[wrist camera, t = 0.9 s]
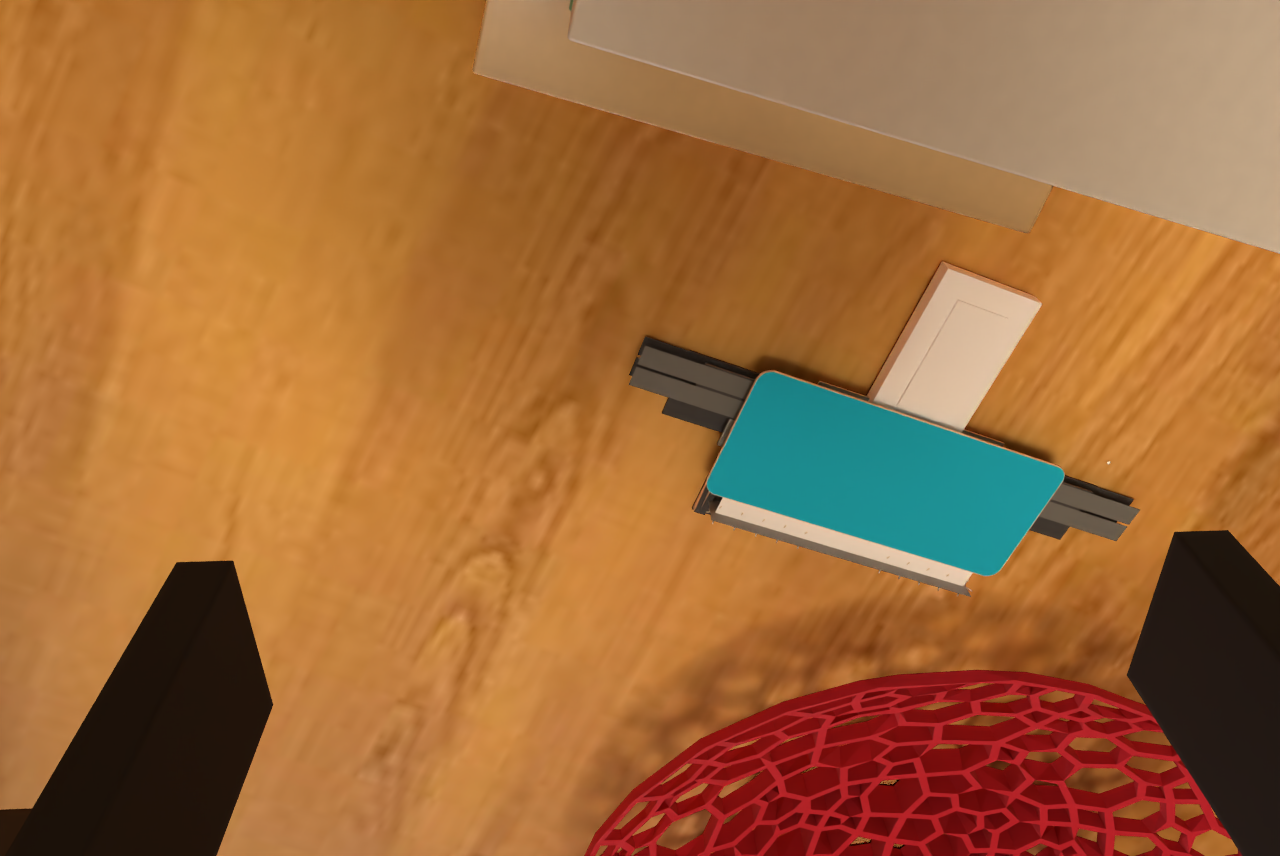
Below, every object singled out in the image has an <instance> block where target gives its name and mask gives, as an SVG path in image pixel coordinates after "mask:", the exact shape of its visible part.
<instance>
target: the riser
mask: <svg viewBox="0 0 1280 856" xmlns="http://www.w3.org/2000/svg"><path fill="white" fill-rule="evenodd" d="M569 4H570V0H486V3H485V8H484V14H483V19H482V24H481V29H480V34H479V39H478V44H477V49H476V54H475V59H474V64H473V69H472V70H473V73H475V74H477V75H481V76H484V77H488V78H491V79H495V80H498V81H502V82H505V83H508V84H512V85H515V86H519V87H522V88H526V89H529V90H533V91H536V92H540V93H543V94H546V95H550V96H553V97H557V98H560V99H564V100H567V101H571V102H574V103H578V104H581V105H585V106H588V107H591V108H595V109H598V110H602V111H605V112H609V113H612V114H616V115H619V116H623V117H626V118H629V119H633V120H636V121H640V122H643V123H647V124H650V125H654V126H657V127H661V128H664V129H667V130H671V131H674V132H678V133H681V134H685V135H688V136H692V137H695V138H699V139H702V140H706V141H709V142H712V143H716V144H719V145H723V146H726V147H730V148H733V149H737V150H740V151H744V152H747V153H750V154H754V155H757V156H761V157H764V158H768V159H771V160H775V161H778V162H782V163H785V164H788V165H792V166H795V167H799V168H802V169H806V170H809V171H813V172H816V173H820V174H823V175H827V176H830V177H833V178H837V179H840V180H844V181H847V182H851V183H854V184H858V185H861V186H865V187H868V188H871V189H875V190H878V191H882V192H885V193H889V194H892V195H896V196H899V197H903V198H906V199H909V200H913V201H916V202H920V203H923V204H927V205H930V206H934V207H937V208H941V209H944V210H948V211H951V212H954V213H958V214H961V215H965V216H968V217H972V218H975V219H979V220H982V221H986V222H989V223H992V224H996V225H999V226H1003V227H1006V228H1010V229H1013V230H1017V231H1020V232H1024V233H1030V231H1031V229H1032V227H1033V225H1034V223H1035V221H1036V219H1037V217H1038V215H1039V213H1040V211H1041V210H1042V208H1043V206H1044V204H1045V202H1046V200H1047V198H1048V196H1049V194H1050V192H1051V190H1052V188H1053V185H1049V184H1046V183H1043V182H1039V181H1036V180H1033V179H1029V178H1026V177H1023V176H1019V175H1016V174H1013V173H1009V172H1006V171H1003V170H999V169H996V168H993V167H989V166H986V165H983V164H979V163H976V162H973V161H969V160H966V159H963V158H959V157H956V156H953V155H949V154H946V153H943V152H939V151H936V150H933V149H929V148H926V147H923V146H919V145H916V144H913V143H909V142H906V141H903V140H899V139H896V138H893V137H889V136H886V135H883V134H879V133H876V132H873V131H869V130H866V129H863V128H859V127H856V126H853V125H849V124H846V123H843V122H839V121H836V120H833V119H829V118H826V117H823V116H819V115H816V114H813V113H809V112H806V111H803V110H799V109H796V108H793V107H790V106H786V105H783V104H780V103H776V102H773V101H770V100H766V99H763V98H760V97H756V96H753V95H750V94H746V93H743V92H740V91H736V90H733V89H730V88H726V87H723V86H720V85H716V84H713V83H710V82H706V81H703V80H700V79H696V78H693V77H690V76H686V75H683V74H680V73H676V72H673V71H670V70H666V69H663V68H660V67H656V66H653V65H650V64H646V63H643V62H640V61H636V60H633V59H630V58H626V57H623V56H620V55H616V54H613V53H610V52H606V51H603V50H600V49H596V48H593V47H590V46H586V45H583V44H580V43H576V42H573V41H570V40H569V39H568V30H569V23H570V17H571V11H570V10H569Z"/></svg>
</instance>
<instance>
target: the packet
mask: <svg viewBox="0 0 1280 856" xmlns="http://www.w3.org/2000/svg"><path fill="white" fill-rule="evenodd" d="M569 10H570V11H571V17H570V23H569V30H568V39H569V40H570V41H573V42H576V43H580V44H583V45H586V46H590V47H593V48H596V49H600V50H603V51H606V52H610V53H613V54H616V55H620V56H623V57H626V58H630V59H633V60H636V61H640V62H643V63H646V64H650V65H653V66H656V67H660V68H663V69H666V70H670V71H673V72H676V73H680V74H683V75H686V76H690V77H693V78H696V79H700V80H703V81H706V82H710V83H713V84H716V85H720V86H723V87H726V88H730V89H733V90H736V91H740V92H743V93H746V94H750V95H753V96H756V97H760V98H763V99H766V100H770V101H773V102H776V103H780V104H783V105H786V106H790V107H793V108H796V109H799V110H803V111H806V112H809V113H813V114H816V115H819V116H823V117H826V118H829V119H833V120H836V121H839V122H843V123H846V124H849V125H853V126H856V127H859V128H863V129H866V130H869V131H873V132H876V133H879V134H883V135H886V136H889V137H893V138H896V139H899V140H903V141H906V142H909V143H913V144H916V145H919V146H923V147H926V148H929V149H933V150H936V151H939V152H943V153H946V154H949V155H953V156H956V157H959V158H963V159H966V160H969V161H973V162H976V163H979V164H983V165H986V166H989V167H993V168H996V169H999V170H1003V171H1006V172H1009V173H1013V174H1016V175H1019V176H1023V177H1026V178H1029V179H1033V180H1036V181H1039V182H1043V183H1046V184H1049V185H1053V186H1056V187H1059V188H1063V189H1066V190H1069V191H1073V192H1076V193H1079V194H1083V195H1086V196H1089V197H1093V198H1096V199H1099V200H1103V201H1106V202H1109V203H1113V204H1116V205H1119V206H1123V207H1126V208H1129V209H1132V210H1136V211H1139V212H1142V213H1146V214H1149V215H1152V216H1156V217H1159V218H1162V219H1166V220H1169V221H1172V222H1176V223H1179V224H1182V225H1186V226H1189V227H1192V228H1196V229H1199V230H1202V231H1206V232H1209V233H1212V234H1216V235H1219V236H1222V237H1226V238H1229V239H1232V240H1236V241H1239V242H1242V243H1246V244H1249V245H1252V246H1256V247H1259V248H1262V249H1266V250H1269V251H1272V252H1276V253H1279V254H1280V0H570V4H569Z"/></svg>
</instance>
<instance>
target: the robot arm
mask: <svg viewBox="0 0 1280 856" xmlns="http://www.w3.org/2000/svg"><path fill="white" fill-rule="evenodd" d="M1127 676H1128V678H1129V679H1130V681H1131V682H1132V684H1133V686H1134V687H1135V689H1136V690H1137V692H1138V693H1139V695H1140V696H1141V698H1142V700H1143V701H1144V703H1145V704H1146V706H1147V707H1148V709H1149V711H1150V712H1151V714H1152V715H1153V717H1154V718H1155V720H1156V721H1157V723H1158V725H1159V726H1160V728H1161V729H1162V731H1163V732H1164V734H1165V736H1166V737H1167V739H1168V740H1169V742H1170V743H1171V745H1172V746H1173V748H1174V750H1175V751H1176V753H1177V754H1178V756H1179V757H1180V759H1181V761H1182V762H1183V764H1184V765H1185V767H1186V768H1187V770H1188V772H1189V773H1190V775H1191V776H1192V778H1193V779H1194V781H1195V782H1196V784H1197V786H1198V787H1199V789H1200V790H1201V792H1202V793H1203V795H1204V797H1205V798H1206V800H1207V801H1208V803H1209V804H1210V806H1211V807H1212V809H1213V811H1214V812H1215V814H1216V815H1217V817H1218V818H1219V820H1220V822H1221V823H1222V825H1223V826H1224V828H1225V829H1226V831H1227V833H1228V834H1229V836H1230V837H1231V839H1232V840H1233V842H1234V843H1235V845H1236V847H1237V848H1238V850H1239V851H1240V853H1241V854H1242V856H1280V586H1279V585H1278V584H1277V583H1276V582H1275V581H1274V580H1273V579H1272V578H1271V577H1270V575H1269V574H1268V573H1267V572H1266V571H1265V570H1264V569H1263V568H1262V567H1261V566H1260V565H1259V564H1258V562H1257V561H1256V560H1255V559H1254V558H1253V557H1252V556H1251V555H1250V554H1249V553H1248V552H1247V551H1246V549H1245V548H1244V547H1243V546H1242V545H1241V544H1240V543H1239V542H1238V541H1237V540H1236V539H1235V537H1234V536H1233V535H1232V534H1231V533H1230V532H1229V531H1228V530H1223V531H1191V532H1174V535H1173V538H1172V541H1171V544H1170V547H1169V550H1168V553H1167V556H1166V559H1165V562H1164V565H1163V568H1162V571H1161V574H1160V577H1159V580H1158V583H1157V586H1156V589H1155V592H1154V595H1153V598H1152V601H1151V604H1150V607H1149V610H1148V613H1147V616H1146V619H1145V622H1144V625H1143V628H1142V631H1141V634H1140V637H1139V640H1138V643H1137V646H1136V649H1135V652H1134V655H1133V658H1132V662H1131V665H1130V668H1129V671H1128V674H1127ZM272 706H273V703H272V699H271V695H270V692H269V688H268V685H267V681H266V677H265V674H264V670H263V667H262V663H261V659H260V656H259V652H258V649H257V645H256V641H255V638H254V634H253V631H252V627H251V623H250V620H249V616H248V612H247V609H246V605H245V602H244V598H243V594H242V591H241V587H240V584H239V580H238V576H237V573H236V569H235V566H234V562H233V561H206V562H177V563H176V564H175V566H174V568H173V569H172V571H171V573H170V575H169V576H168V578H167V580H166V581H165V583H164V585H163V586H162V588H161V590H160V592H159V593H158V595H157V597H156V598H155V600H154V602H153V604H152V605H151V607H150V609H149V610H148V612H147V614H146V615H145V617H144V619H143V621H142V622H141V624H140V626H139V627H138V629H137V631H136V633H135V634H134V636H133V638H132V639H131V641H130V643H129V645H128V646H127V648H126V650H125V651H124V653H123V655H122V656H121V658H120V660H119V662H118V663H117V665H116V667H115V668H114V670H113V672H112V674H111V675H110V677H109V679H108V680H107V682H106V684H105V685H104V687H103V689H102V691H101V692H100V694H99V696H98V697H97V699H96V701H95V703H94V704H93V706H92V708H91V709H90V711H89V713H88V714H87V716H86V718H85V720H84V721H83V723H82V725H81V726H80V728H79V730H78V732H77V733H76V735H75V737H74V738H73V740H72V742H71V743H70V745H69V747H68V749H67V750H66V752H65V754H64V755H63V757H62V759H61V761H60V762H59V764H58V766H57V767H56V769H55V771H54V773H53V774H52V776H51V778H50V779H49V781H48V783H47V784H46V786H45V788H44V790H43V791H42V793H41V795H40V796H39V798H38V800H37V802H36V803H35V805H34V807H33V808H32V809H9V810H0V856H216V855H217V853H218V850H219V847H220V845H221V842H222V839H223V837H224V834H225V831H226V829H227V826H228V823H229V821H230V818H231V815H232V813H233V810H234V807H235V805H236V802H237V799H238V797H239V794H240V791H241V789H242V786H243V783H244V781H245V778H246V775H247V773H248V770H249V767H250V765H251V762H252V760H253V757H254V754H255V752H256V749H257V746H258V744H259V741H260V738H261V736H262V733H263V730H264V728H265V725H266V722H267V720H268V717H269V714H270V712H271V709H272Z"/></svg>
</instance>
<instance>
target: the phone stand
mask: <svg viewBox="0 0 1280 856" xmlns="http://www.w3.org/2000/svg"><path fill="white" fill-rule="evenodd" d="M1041 305H1042V303H1041V302H1040V301H1039V300H1038V299H1037V298H1036V297H1035V296H1033V295H1030V294H1028V293H1025V292H1022V291H1020V290H1017V289H1014V288H1012V287H1009V286H1007V285H1004V284H1001V283H999V282H996V281H993V280H991V279H988V278H985V277H983V276H980V275H977V274H975V273H972V272H969V271H967V270H964V269H961V268H959V267H956V266H953V265H951V264H948V263H945V262H943V261H942V262H941V264H940V266H939V268H938V269H937V271H936V273H935V275H934V277H933V278H932V280H931V282H930V284H929V285H928V287H927V289H926V291H925V293H924V294H923V296H922V298H921V300H920V302H919V303H918V305H917V307H916V309H915V310H914V312H913V314H912V316H911V318H910V319H909V321H908V323H907V325H906V327H905V328H904V330H903V332H902V334H901V335H900V337H899V339H898V341H897V343H896V344H895V346H894V348H893V350H892V352H891V353H890V355H889V357H888V359H887V360H886V362H885V364H884V366H883V368H882V369H881V371H880V373H879V375H878V377H877V378H876V380H875V382H874V384H873V385H872V387H871V389H870V391H869V393H868V394H867V396H864V395H861V394H858V393H855V392H852V391H849V390H846V389H843V388H840V387H837V386H834V385H831V384H828V383H825V382H822V381H819V383H818V385H817V384H814V383H811V382H808V381H805V380H802V379H799V378H796V377H793V376H790V375H787V374H785V373H782V372H779V371H776V370H767V371H764V372H762V373H761V374H760V373H757V372H754V371H751V370H748V369H745V368H742V367H739V366H736V365H733V364H730V363H727V362H724V361H721V360H718V359H715V358H712V357H709V356H706V355H703V354H700V353H697V352H694V351H691V350H690V351H688V350H685V349H682V348H679V347H676V346H673V345H670V344H667V343H664V342H661V341H658V340H655V339H652V338H649V337H646V336H645V338H644V341H643V343H642V346H641V348H640V350H639V353H638V355H640V356H641V357H640V358H638V357H636V360H635V362H634V365H633V367H632V369H631V372H630V374H629V375H631V376H632V378H631V380H630V383H629V385H631V386H634V387H638V388H641V389H644V390H647V391H650V392H653V393H656V394H659V395H663V396H666V397H669V398H668V400H667V402H666V405H665V407H664V409H663V411H662V414H665V415H668V416H671V417H675V418H678V419H681V420H684V421H687V422H690V423H693V424H697V425H700V426H703V427H706V428H709V429H712V430H716V431H719V432H722V434H721V436H720V438H719V440H718V443H717V445H718V446H721V447H722V448H721V450H720V452H719V454H718V456H717V458H716V460H715V463H714V465H713V467H712V469H711V471H710V473H709V475H708V477H707V479H706V481H705V483H704V485H703V487H702V489H701V491H700V493H699V495H698V497H697V499H696V501H695V503H694V505H693V507H692V509H693V510H694V512H697V513H700V514H703V515H705V514H710V515H711V520H713V521H712V524H713V523H714V521H716V522H719V523H723V524H726V525H730V526H733V527H734V530H735V527H736V528H740V529H743V530H747V531H750V532H753V533H756V534H755V537H756V535H757V534H760V535H763V536H767V537H770V538H774V539H777V540H776V543H777V541H778V540H780V541H784V542H787V543H790V544H794V545H797V549H798V547H799V546H801V547H804V548H807V549H811V550H814V551H818V552H821V553H824V554H828V555H831V556H834V557H838V558H841V559H845V560H848V561H851V562H855V563H858V564H862V565H865V566H868V567H872V568H875V569H878V570H879V573H880V570H882V571H885V572H889V573H892V574H895V575H899V578H898V579H900V576H902V577H905V578H909V579H912V580H916V581H919V583H918V585H919V584H920V582H922V583H926V584H929V585H933V586H936V587H938V591H939V588H943V589H946V590H949V591H953V592H956V593H958V594H957V596H958V595H959V593H960V594H963V595H966V596H970V594H969V592H968V590H970V591H972V590H971V589H969V588H967V587H966V586H965V584H966V583H967V582H968V581H969V580H968V579H969V578H970V576H971V575H972V573H975V574H978V575H982V576H991V575H994V574H996V573H998V572H999V571H1000V570H1001V569H1002V567H1003V566H1004V565H1005V563H1006V562H1007V560H1008V559H1009V557H1010V556H1011V555H1012V553H1013V552H1014V550H1015V549H1016V548H1017V546H1018V545H1019V543H1020V542H1021V540H1022V539H1023V538H1024V536H1025V535H1026V533H1027V532H1028V531H1029V530H1031V531H1034V532H1037V533H1041V534H1044V535H1047V536H1050V537H1053V538H1056V539H1059V540H1060V539H1061V538H1062V536H1063V535H1064V534H1065V532H1066V531H1067V529H1068V528H1069V527H1073V528H1077V529H1080V530H1083V531H1086V532H1089V533H1092V534H1095V535H1098V536H1101V537H1105V538H1108V539H1111V540H1114V541H1117V540H1118V538H1119V537H1120V536H1121V534H1122V533H1123V532H1124V530H1125V529H1126V528H1127V526H1124V525H1120V524H1117V521H1119V522H1122V523H1125V524H1130V522H1131V521H1132V520H1133V519H1134V517H1135V516H1136V515H1137V513H1138V512H1139V511H1140V510H1139V509H1136V508H1133V507H1130V506H1129V505H1130V504H1131V503H1132V501H1133V500H1134V499H1131V498H1128V497H1125V496H1122V495H1119V494H1116V493H1113V492H1110V491H1107V490H1104V489H1101V488H1098V487H1097V486H1095V485H1092V484H1089V483H1086V482H1083V481H1080V480H1077V479H1074V478H1071V477H1068V476H1065V474H1064V471H1063V470H1062V468H1061V467H1060V466H1058V465H1055V464H1052V463H1050V462H1047V461H1044V460H1041V459H1038V458H1035V457H1032V456H1029V455H1026V454H1023V453H1020V452H1017V451H1014V450H1011V449H1008V448H1005V447H1003V446H1004V444H1005V443H1003V442H1000V441H997V440H994V439H992V438H989V437H986V436H983V435H980V434H977V433H974V432H971V431H968V430H965V429H964V428H965V427H966V425H967V423H968V422H969V420H970V419H971V417H972V415H973V414H974V412H975V411H976V409H977V408H978V406H979V404H980V403H981V401H982V400H983V398H984V396H985V395H986V393H987V392H988V390H989V388H990V387H991V385H992V384H993V382H994V380H995V379H996V377H997V376H998V374H999V372H1000V371H1001V369H1002V368H1003V366H1004V364H1005V363H1006V361H1007V360H1008V358H1009V356H1010V355H1011V353H1012V352H1013V350H1014V348H1015V347H1016V345H1017V344H1018V342H1019V340H1020V339H1021V337H1022V336H1023V334H1024V333H1025V331H1026V329H1027V328H1028V326H1029V325H1030V323H1031V321H1032V320H1033V318H1034V317H1035V315H1036V313H1037V312H1038V310H1039V309H1040V307H1041ZM1110 463H1111V462H1109V461H1108V462H1107V464H1110ZM967 589H968V590H967ZM970 597H971V596H970Z"/></svg>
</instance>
